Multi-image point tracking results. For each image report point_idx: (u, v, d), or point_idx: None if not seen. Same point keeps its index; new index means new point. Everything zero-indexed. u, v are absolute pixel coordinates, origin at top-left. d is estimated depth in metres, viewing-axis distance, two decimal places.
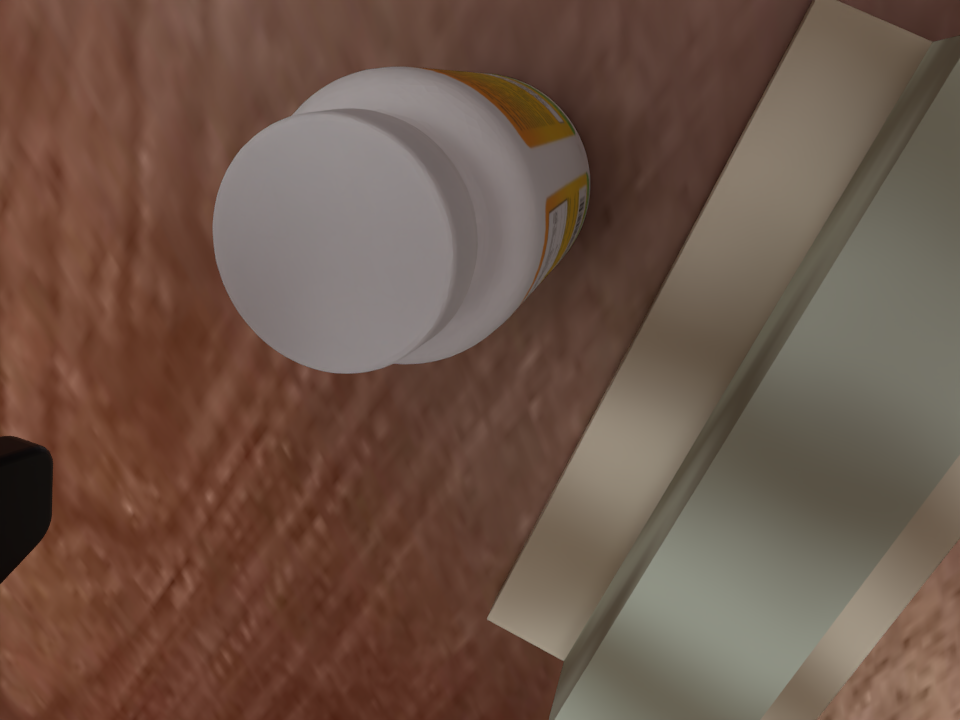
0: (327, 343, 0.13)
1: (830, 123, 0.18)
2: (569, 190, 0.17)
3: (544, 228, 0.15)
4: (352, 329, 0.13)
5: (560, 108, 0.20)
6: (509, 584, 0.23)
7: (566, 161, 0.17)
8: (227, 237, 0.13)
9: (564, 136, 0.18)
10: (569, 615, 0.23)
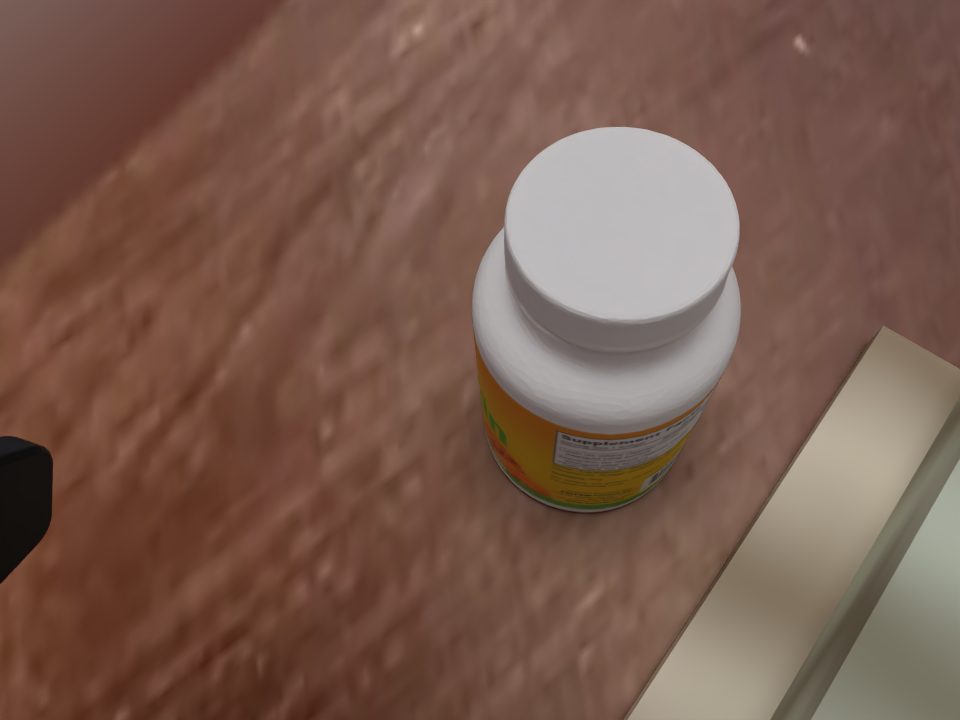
0: (598, 289, 0.13)
1: (898, 417, 0.21)
2: None
3: None
4: (628, 281, 0.13)
5: None
6: None
7: None
8: (526, 194, 0.14)
9: None
10: None
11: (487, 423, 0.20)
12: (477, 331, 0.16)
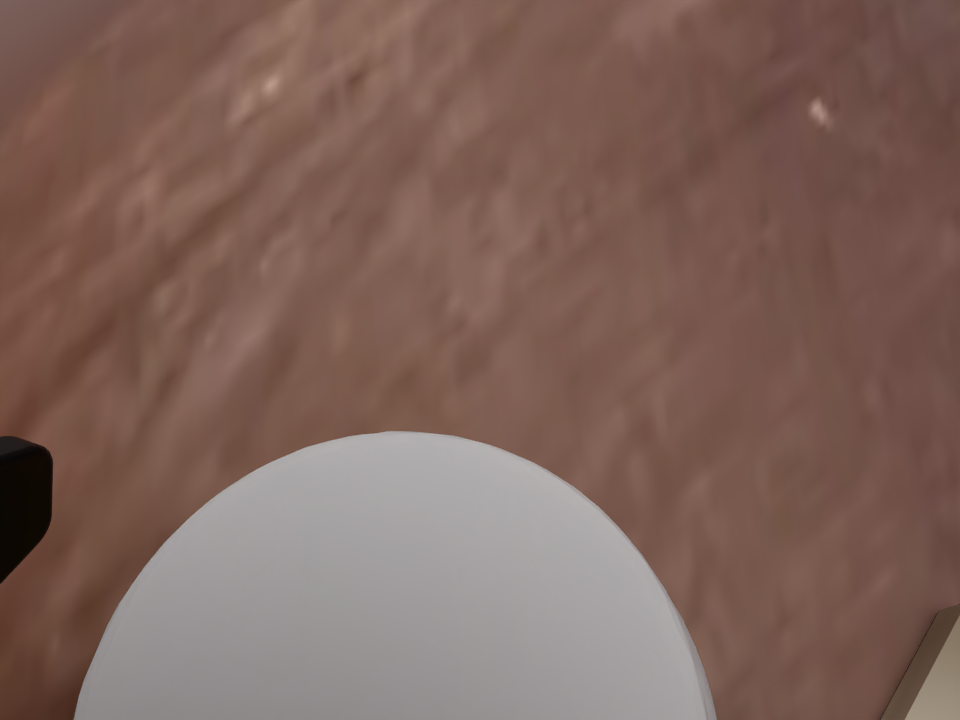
0: None
1: None
2: None
3: None
4: None
5: None
6: None
7: None
8: (141, 641, 0.05)
9: None
10: None
11: None
12: None
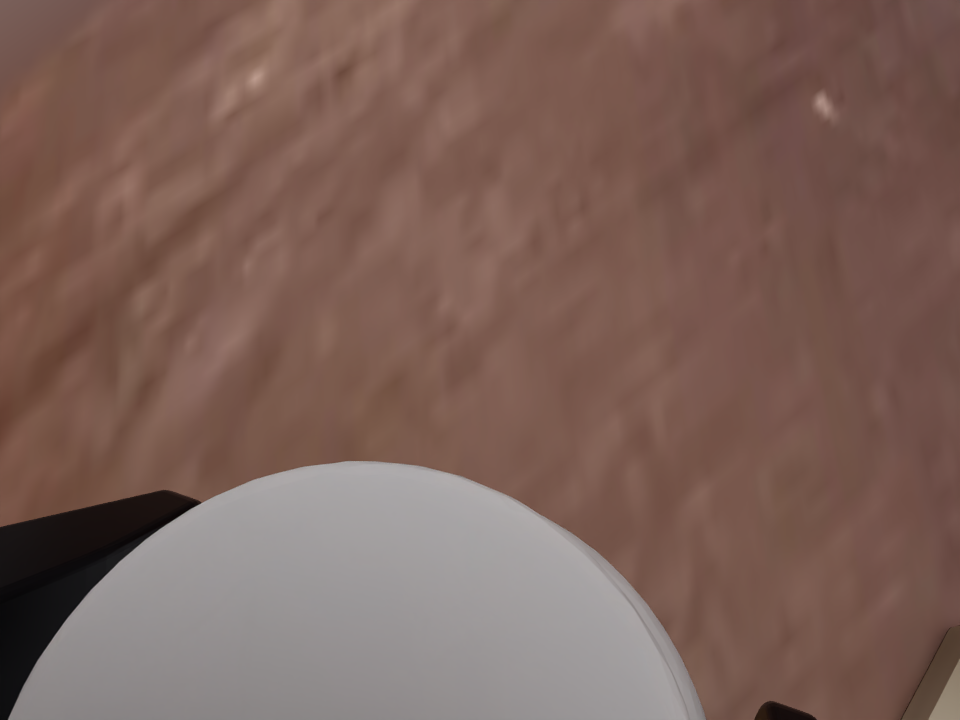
0: None
1: None
2: None
3: None
4: None
5: None
6: None
7: None
8: (57, 705, 0.05)
9: None
10: None
11: None
12: None
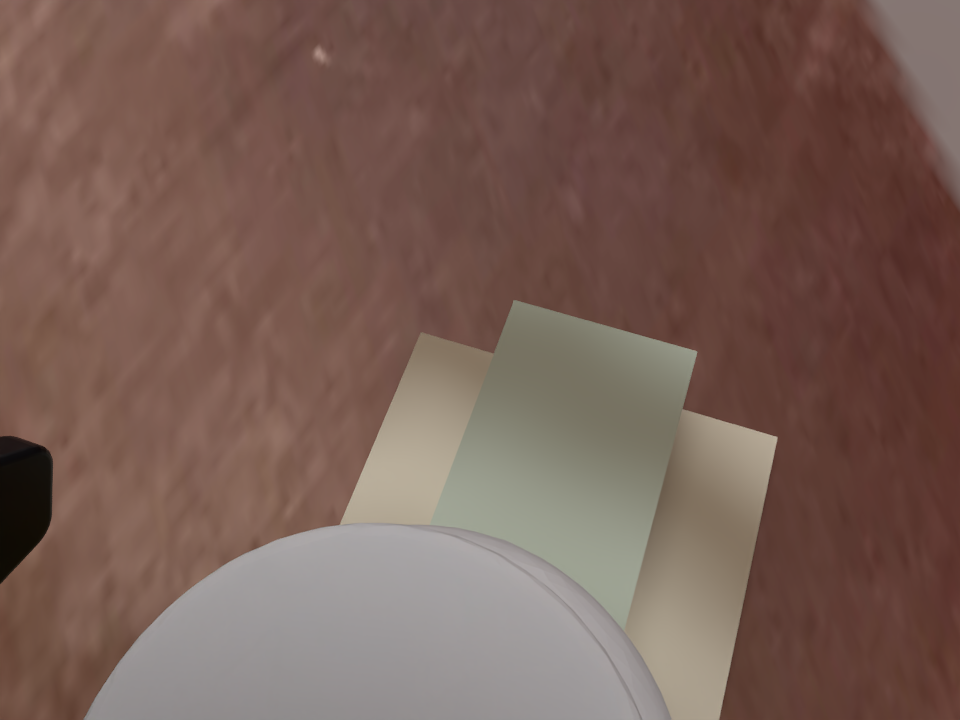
0: None
1: (447, 426, 0.20)
2: None
3: None
4: None
5: None
6: None
7: None
8: None
9: None
10: None
11: None
12: None
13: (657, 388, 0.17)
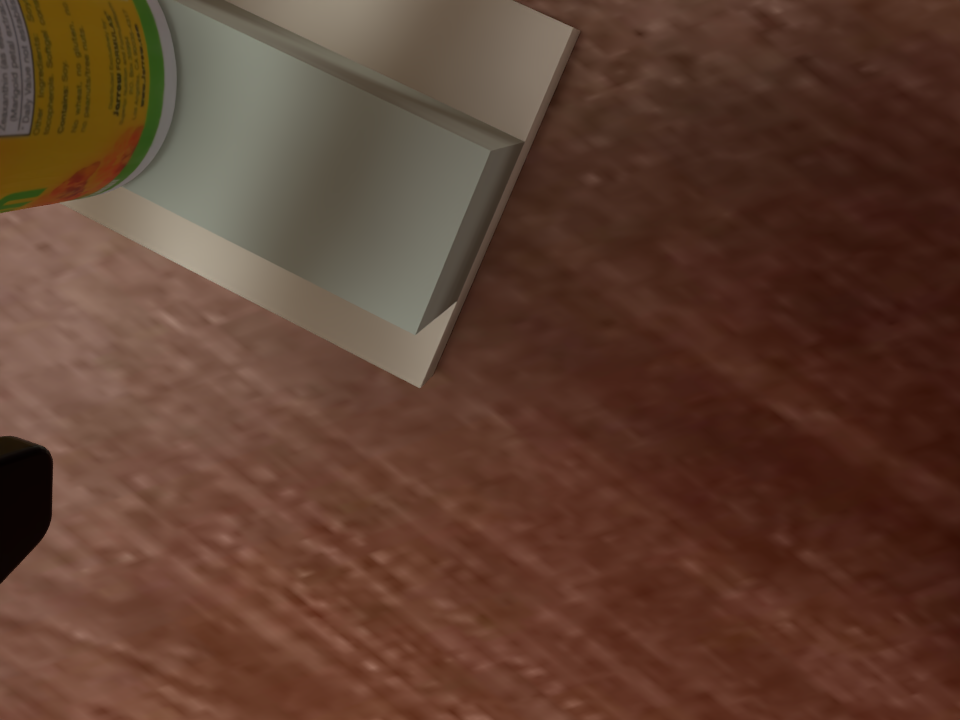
0: None
1: None
2: None
3: None
4: None
5: None
6: (370, 358, 0.21)
7: None
8: None
9: None
10: None
11: (30, 206, 0.15)
12: None
13: None
